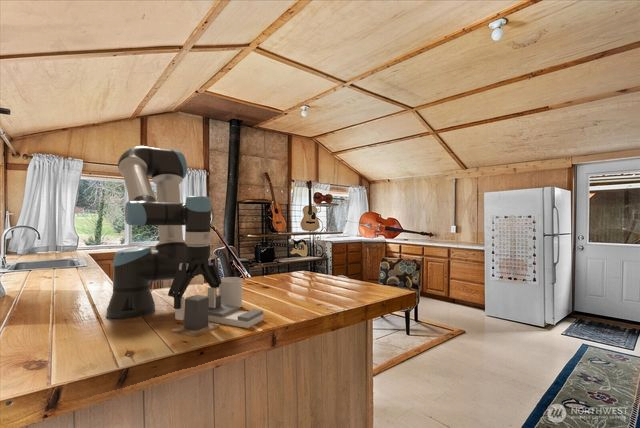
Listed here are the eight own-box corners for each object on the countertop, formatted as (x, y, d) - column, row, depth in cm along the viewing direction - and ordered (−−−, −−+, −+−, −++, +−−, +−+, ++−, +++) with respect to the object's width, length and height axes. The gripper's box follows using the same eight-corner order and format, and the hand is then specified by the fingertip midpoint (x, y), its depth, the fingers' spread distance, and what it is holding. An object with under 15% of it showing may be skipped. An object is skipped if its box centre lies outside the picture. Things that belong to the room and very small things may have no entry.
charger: (184, 328, 101) (184, 298, 101) (196, 323, 105) (196, 294, 105) (196, 330, 99) (197, 299, 99) (208, 325, 103) (208, 296, 103)
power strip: (189, 317, 113) (190, 297, 113) (207, 310, 121) (208, 291, 121) (247, 328, 104) (248, 305, 104) (263, 319, 112) (263, 298, 112)
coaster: (171, 331, 99) (171, 329, 99) (195, 321, 109) (195, 320, 109) (196, 336, 96) (196, 334, 96) (219, 326, 105) (219, 324, 105)
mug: (243, 310, 123) (244, 280, 123) (219, 312, 119) (219, 282, 119) (239, 302, 134) (239, 275, 134) (216, 304, 130) (217, 276, 130)
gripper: (175, 249, 89) (173, 327, 89) (232, 242, 112) (231, 304, 112) (155, 248, 92) (153, 323, 92) (215, 241, 115) (214, 301, 115)
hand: (196, 313), depth 102 cm, fingers open, 13 cm apart
